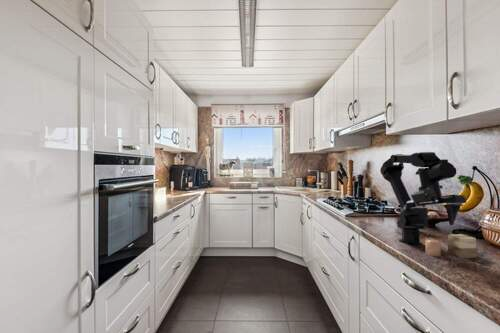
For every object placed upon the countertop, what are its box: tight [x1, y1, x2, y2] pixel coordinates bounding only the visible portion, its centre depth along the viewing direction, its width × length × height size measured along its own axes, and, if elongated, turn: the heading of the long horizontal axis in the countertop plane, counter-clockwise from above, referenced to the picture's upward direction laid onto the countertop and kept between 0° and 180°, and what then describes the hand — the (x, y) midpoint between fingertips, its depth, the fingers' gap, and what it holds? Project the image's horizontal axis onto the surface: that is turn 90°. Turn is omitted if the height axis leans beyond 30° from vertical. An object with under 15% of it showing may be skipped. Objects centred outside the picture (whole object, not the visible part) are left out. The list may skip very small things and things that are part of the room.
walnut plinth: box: [447, 243, 479, 259], centre depth 93 cm, size 6×6×4 cm
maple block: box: [447, 233, 477, 249], centre depth 93 cm, size 6×6×4 cm
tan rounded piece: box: [424, 238, 442, 258], centre depth 94 cm, size 5×5×5 cm
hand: (438, 225), depth 92 cm, fingers open, 9 cm apart
